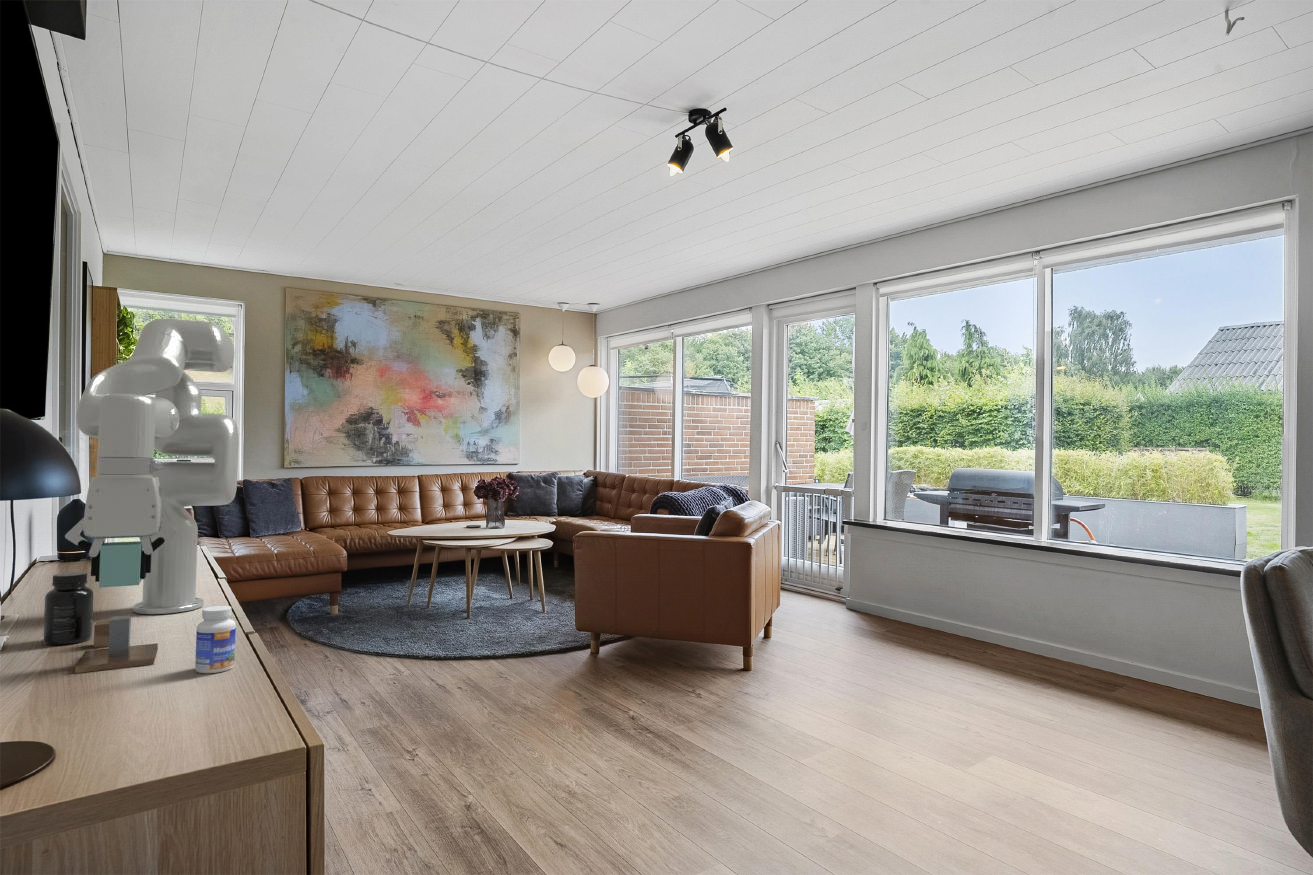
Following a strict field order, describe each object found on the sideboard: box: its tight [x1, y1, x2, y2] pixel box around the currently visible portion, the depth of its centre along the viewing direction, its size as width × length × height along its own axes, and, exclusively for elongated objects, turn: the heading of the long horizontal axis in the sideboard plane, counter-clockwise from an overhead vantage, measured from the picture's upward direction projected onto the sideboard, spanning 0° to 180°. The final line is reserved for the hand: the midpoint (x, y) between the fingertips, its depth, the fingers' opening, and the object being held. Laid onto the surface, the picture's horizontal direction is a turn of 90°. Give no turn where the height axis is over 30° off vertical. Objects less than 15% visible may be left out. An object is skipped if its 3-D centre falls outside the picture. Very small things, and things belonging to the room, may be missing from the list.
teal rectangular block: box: [98, 540, 143, 589], centre depth 118 cm, size 5×5×7 cm
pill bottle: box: [194, 605, 237, 674], centre depth 115 cm, size 5×5×10 cm
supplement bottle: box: [43, 571, 94, 646], centre depth 128 cm, size 7×7×12 cm
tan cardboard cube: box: [93, 619, 110, 649], centre depth 126 cm, size 3×3×4 cm
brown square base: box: [74, 615, 159, 674], centre depth 118 cm, size 10×10×7 cm
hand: (121, 577), depth 118 cm, fingers closed on teal rectangular block, 5 cm apart
